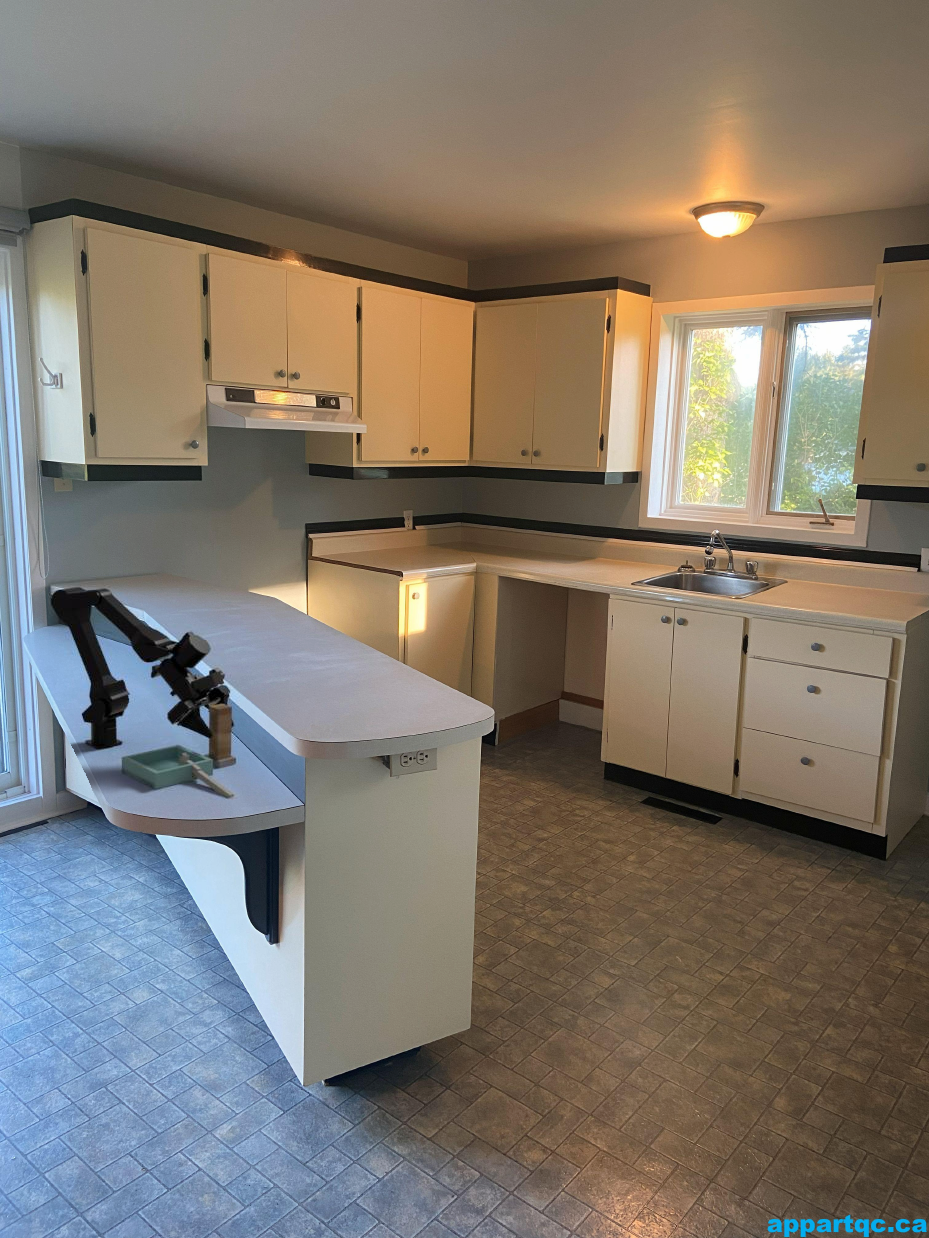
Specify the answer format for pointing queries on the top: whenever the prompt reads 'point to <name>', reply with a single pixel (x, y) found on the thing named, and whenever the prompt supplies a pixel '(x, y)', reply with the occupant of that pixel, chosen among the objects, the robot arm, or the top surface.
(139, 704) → the top surface
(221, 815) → the top surface
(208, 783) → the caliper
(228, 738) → the tall tan wooden block
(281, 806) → the top surface
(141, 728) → the top surface
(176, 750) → the tray
